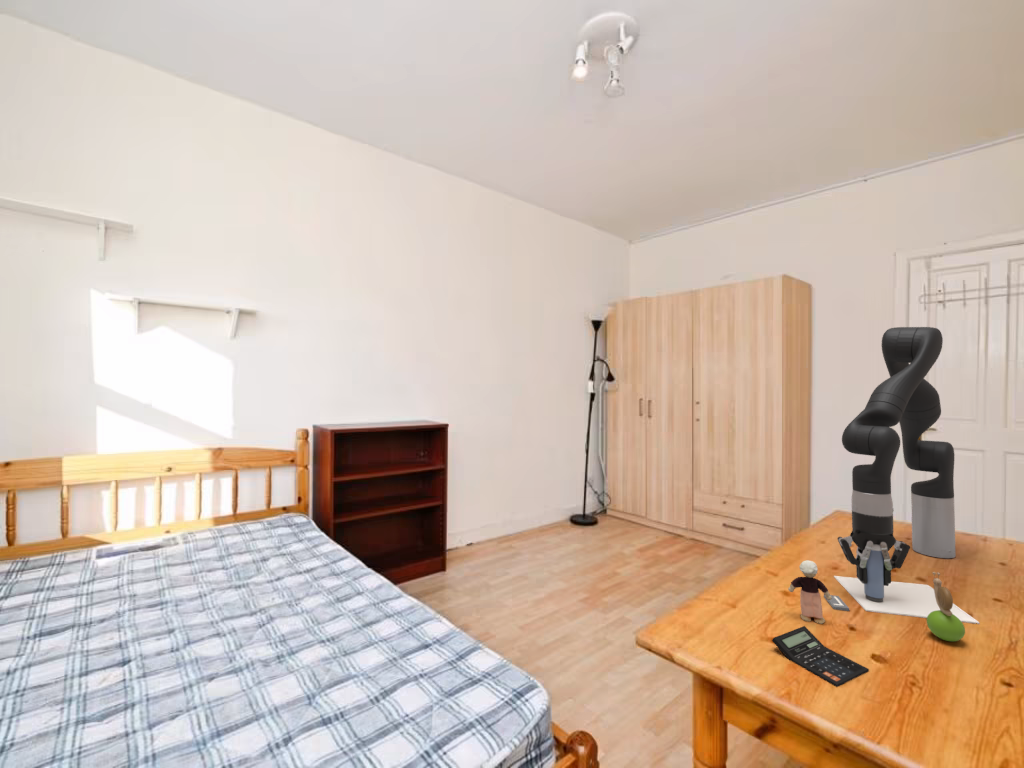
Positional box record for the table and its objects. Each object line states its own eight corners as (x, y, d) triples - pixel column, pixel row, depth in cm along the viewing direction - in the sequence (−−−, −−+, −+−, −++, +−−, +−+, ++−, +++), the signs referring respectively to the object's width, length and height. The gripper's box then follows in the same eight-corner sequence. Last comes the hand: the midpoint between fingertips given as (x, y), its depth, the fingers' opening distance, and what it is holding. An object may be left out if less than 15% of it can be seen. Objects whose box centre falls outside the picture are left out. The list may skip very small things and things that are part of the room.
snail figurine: (954, 632, 89) (953, 573, 89) (971, 650, 83) (969, 587, 83) (920, 626, 91) (918, 569, 91) (934, 643, 86) (932, 582, 86)
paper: (833, 576, 115) (833, 575, 115) (927, 586, 109) (927, 584, 109) (865, 610, 98) (865, 609, 98) (979, 624, 92) (979, 622, 92)
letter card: (823, 596, 105) (823, 593, 105) (838, 598, 104) (838, 595, 104) (833, 609, 99) (833, 606, 99) (849, 611, 98) (849, 607, 98)
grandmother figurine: (827, 617, 96) (826, 559, 96) (833, 626, 92) (832, 566, 92) (787, 611, 98) (785, 555, 98) (791, 620, 95) (790, 562, 95)
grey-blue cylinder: (861, 594, 105) (859, 539, 105) (879, 596, 104) (878, 540, 104) (868, 601, 101) (867, 544, 101) (887, 603, 100) (886, 546, 100)
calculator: (837, 689, 74) (836, 672, 74) (771, 652, 85) (771, 636, 85) (868, 673, 78) (868, 657, 78) (802, 639, 88) (802, 624, 88)
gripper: (900, 507, 104) (901, 580, 104) (830, 504, 108) (832, 573, 108) (918, 517, 97) (920, 594, 97) (843, 512, 101) (844, 586, 101)
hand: (873, 582), depth 103 cm, fingers closed on grey-blue cylinder, 3 cm apart
